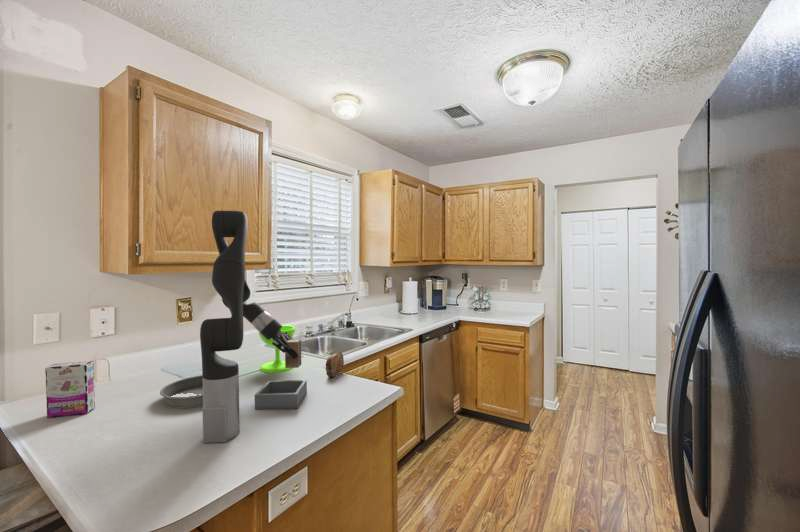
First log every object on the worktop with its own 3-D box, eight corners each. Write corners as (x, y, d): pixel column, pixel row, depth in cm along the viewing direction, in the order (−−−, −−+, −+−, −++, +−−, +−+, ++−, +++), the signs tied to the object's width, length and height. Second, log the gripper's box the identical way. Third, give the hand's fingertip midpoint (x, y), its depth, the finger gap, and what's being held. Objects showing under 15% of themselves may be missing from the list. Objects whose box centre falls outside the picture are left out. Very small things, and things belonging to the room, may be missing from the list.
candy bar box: (96, 408, 124) (94, 360, 123) (87, 414, 119) (86, 364, 119) (56, 412, 121) (54, 363, 120) (45, 418, 116) (44, 367, 116)
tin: (331, 379, 150) (331, 359, 150) (324, 379, 151) (324, 359, 151) (344, 368, 165) (344, 350, 165) (337, 368, 166) (337, 350, 166)
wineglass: (258, 365, 172) (257, 327, 172) (292, 360, 179) (292, 324, 179) (260, 374, 158) (259, 333, 157) (298, 369, 164) (297, 330, 164)
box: (297, 409, 121) (297, 394, 121) (254, 410, 121) (254, 395, 120) (306, 393, 135) (306, 380, 135) (268, 394, 135) (268, 380, 134)
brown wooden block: (298, 367, 141) (297, 341, 141) (285, 367, 141) (284, 342, 141) (301, 364, 146) (301, 339, 146) (288, 364, 146) (288, 339, 146)
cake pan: (164, 391, 139) (164, 380, 139) (234, 381, 150) (234, 370, 150) (155, 416, 117) (155, 402, 117) (238, 401, 129) (238, 389, 128)
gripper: (267, 321, 136) (300, 352, 136) (279, 315, 150) (308, 344, 151) (253, 335, 136) (286, 367, 136) (266, 329, 150) (296, 357, 150)
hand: (298, 355), depth 143 cm, fingers closed on brown wooden block, 5 cm apart
